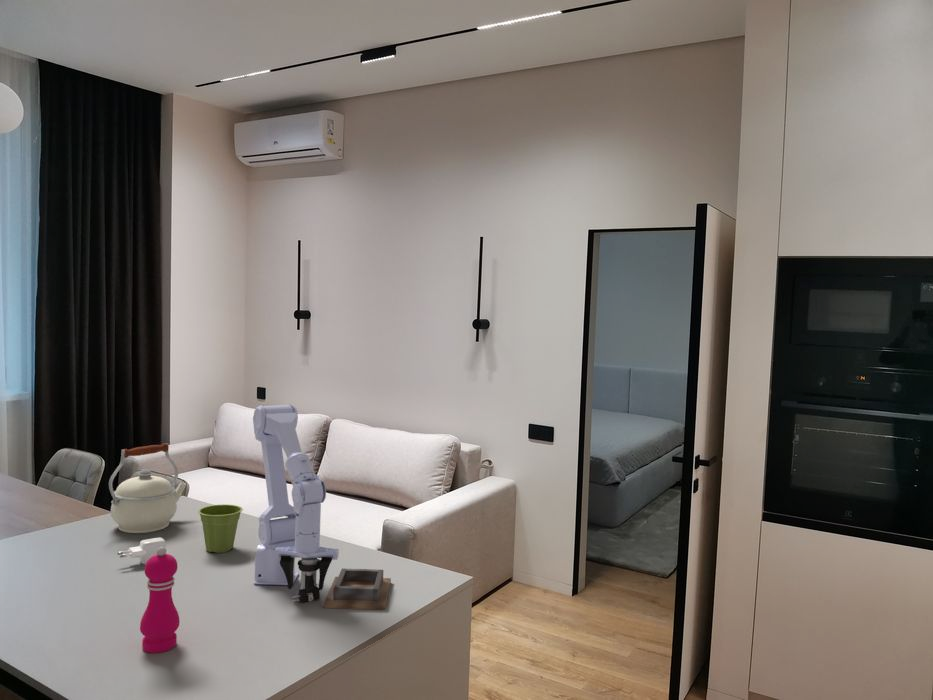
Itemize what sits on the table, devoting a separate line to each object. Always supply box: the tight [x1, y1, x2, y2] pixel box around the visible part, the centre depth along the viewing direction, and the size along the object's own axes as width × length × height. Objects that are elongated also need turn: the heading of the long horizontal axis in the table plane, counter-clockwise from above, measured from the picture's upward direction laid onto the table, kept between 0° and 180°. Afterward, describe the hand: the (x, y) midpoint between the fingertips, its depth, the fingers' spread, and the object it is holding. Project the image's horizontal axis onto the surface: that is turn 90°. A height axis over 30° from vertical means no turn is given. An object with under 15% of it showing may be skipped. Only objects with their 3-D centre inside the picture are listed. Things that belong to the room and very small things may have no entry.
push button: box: [291, 558, 321, 603], centre depth 162 cm, size 7×5×10 cm
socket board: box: [323, 568, 392, 610], centre depth 166 cm, size 14×16×4 cm
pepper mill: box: [139, 547, 180, 654], centre depth 137 cm, size 7×7×20 cm
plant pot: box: [197, 504, 243, 554], centre depth 194 cm, size 12×12×11 cm
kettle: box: [108, 442, 187, 534], centre depth 212 cm, size 25×18×25 cm
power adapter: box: [117, 537, 167, 566], centre depth 181 cm, size 11×5×6 cm, turn 129°
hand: (305, 587), depth 162 cm, fingers open, 6 cm apart
